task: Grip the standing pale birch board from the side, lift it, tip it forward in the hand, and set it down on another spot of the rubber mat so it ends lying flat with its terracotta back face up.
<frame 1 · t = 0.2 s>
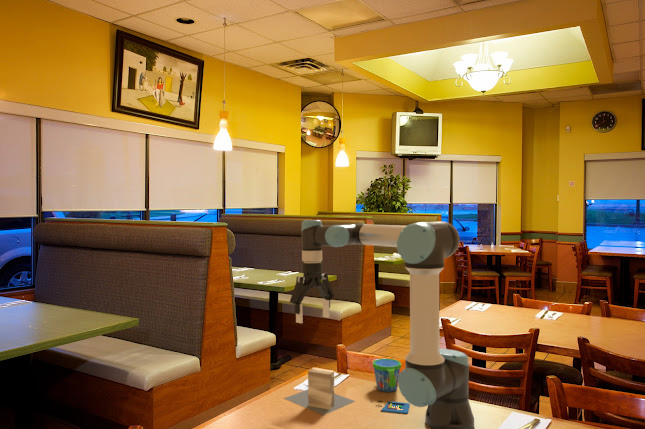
hand: (313, 320, 185), 27 cm above the table, tool pointing down, fingers open, 13 cm apart
mat: (319, 401, 179), on the table
handheld gaming device: (386, 408, 174), on the table
snack cup: (386, 389, 190), on the table
birch board: (321, 405, 174), point 1 cm above the table, touching mat
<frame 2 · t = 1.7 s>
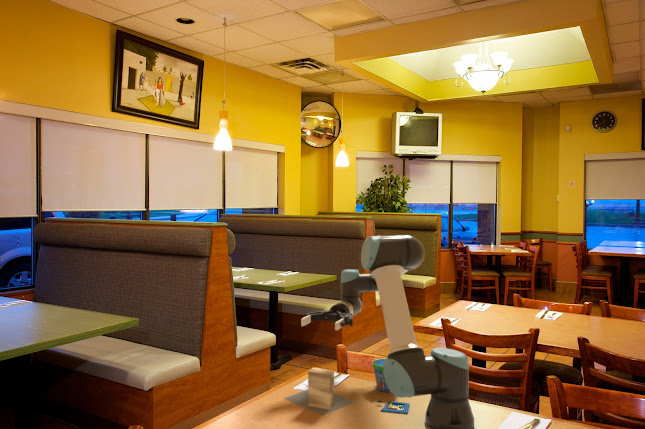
hand: (318, 324, 183), 26 cm above the table, tool horizontal, fingers open, 13 cm apart
nothing on the table moved.
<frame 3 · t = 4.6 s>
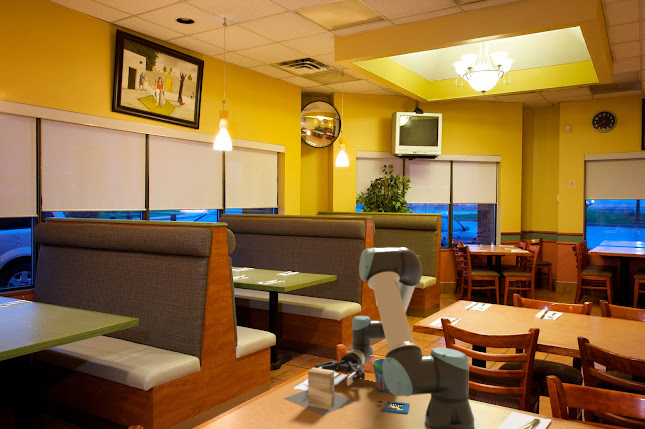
hand: (330, 378, 182), 7 cm above the table, tool horizontal, fingers open, 13 cm apart
nothing on the table moved.
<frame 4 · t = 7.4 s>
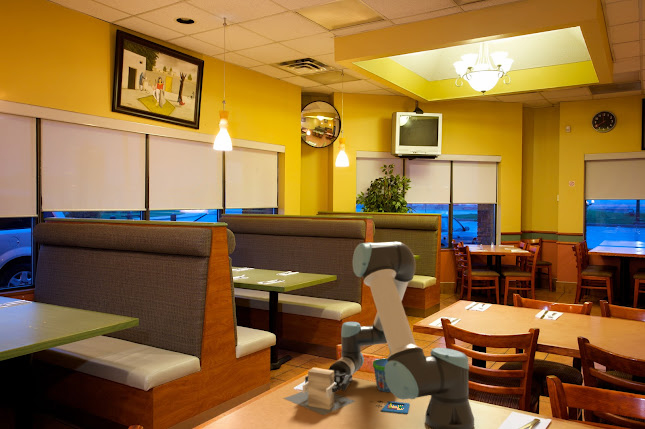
hand: (315, 391, 170), 7 cm above the table, tool horizontal, fingers closed on birch board, 8 cm apart
birch board: (321, 405, 174), point 1 cm above the table, touching gripper, mat
everything else where it was.
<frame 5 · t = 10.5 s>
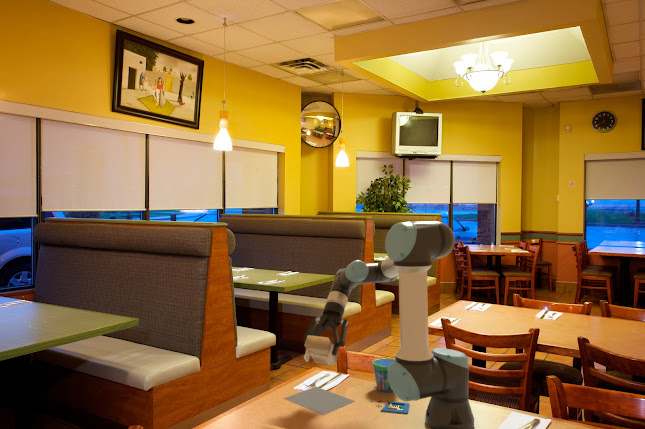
hand: (317, 361, 175), 16 cm above the table, tool tilted 45°, fingers closed on birch board, 8 cm apart
birch board: (326, 358, 182), point 14 cm above the table, tilted 45°, touching gripper
everything else where it was.
when the fingers open (5 cm above the table, at t = 14.6 s): birch board drops 1 cm and tips over, resting on mat.
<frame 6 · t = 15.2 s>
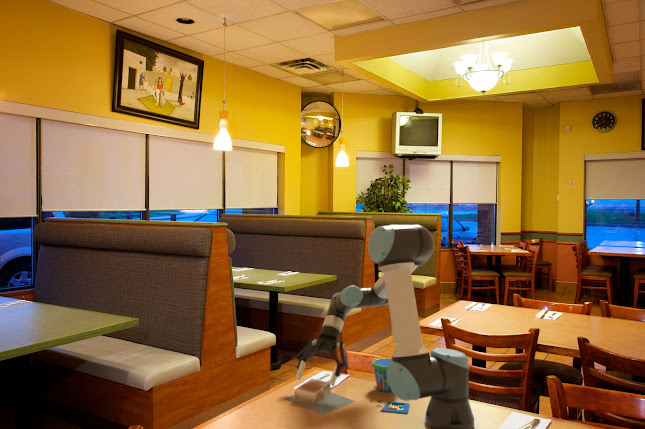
hand: (314, 381, 182), 6 cm above the table, tool tilted 45°, fingers open, 13 cm apart
birch board: (320, 386, 187), point 3 cm above the table, tilted 90°, touching mat
everything else where it was.
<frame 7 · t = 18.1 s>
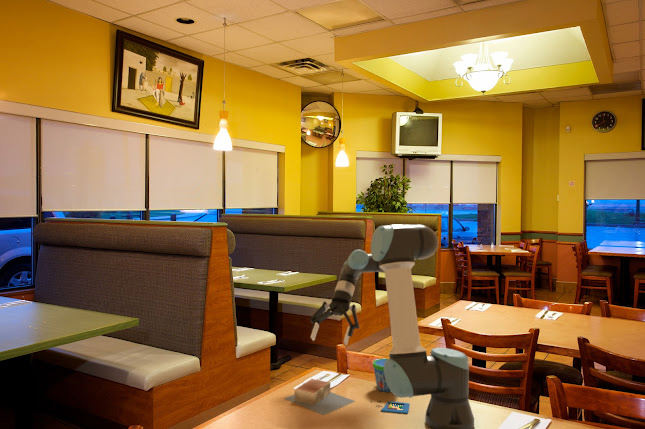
hand: (328, 341, 192), 18 cm above the table, tool tilted 45°, fingers open, 13 cm apart
nothing on the table moved.
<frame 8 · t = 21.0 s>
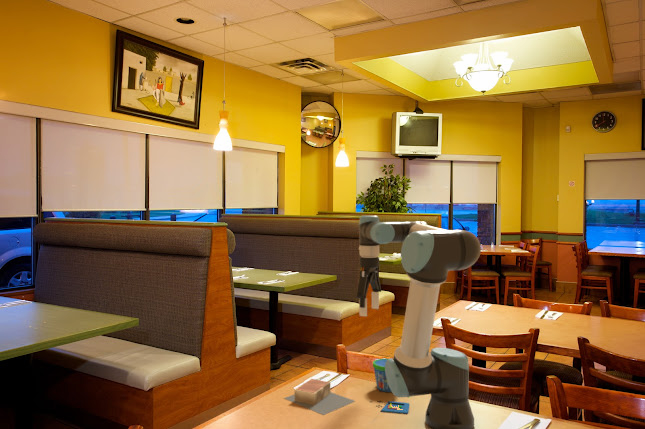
hand: (369, 312, 192), 29 cm above the table, tool pointing down, fingers open, 13 cm apart
nothing on the table moved.
at the end: birch board tilted 90°; birch board touching mat; the gripper is holding nothing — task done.
